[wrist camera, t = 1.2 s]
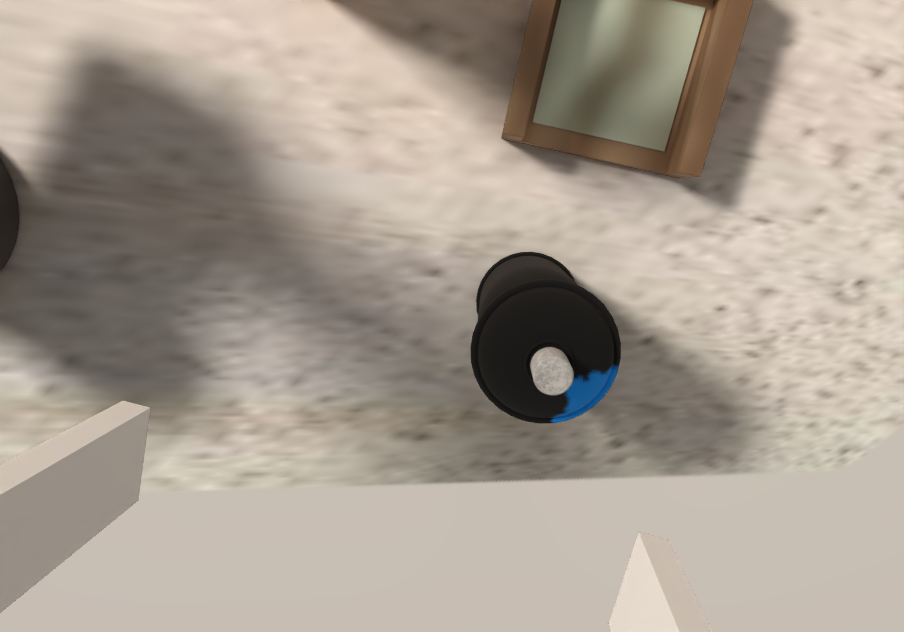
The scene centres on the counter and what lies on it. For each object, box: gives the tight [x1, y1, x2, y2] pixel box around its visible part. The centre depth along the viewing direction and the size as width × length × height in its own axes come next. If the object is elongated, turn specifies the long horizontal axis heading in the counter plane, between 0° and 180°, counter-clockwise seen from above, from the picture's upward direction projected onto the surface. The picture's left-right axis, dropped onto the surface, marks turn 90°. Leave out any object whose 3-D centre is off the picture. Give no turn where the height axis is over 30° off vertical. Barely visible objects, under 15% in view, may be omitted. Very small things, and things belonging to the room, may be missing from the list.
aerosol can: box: [471, 252, 621, 423], centre depth 38 cm, size 8×8×20 cm
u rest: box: [501, 0, 753, 178], centre depth 42 cm, size 14×14×4 cm
